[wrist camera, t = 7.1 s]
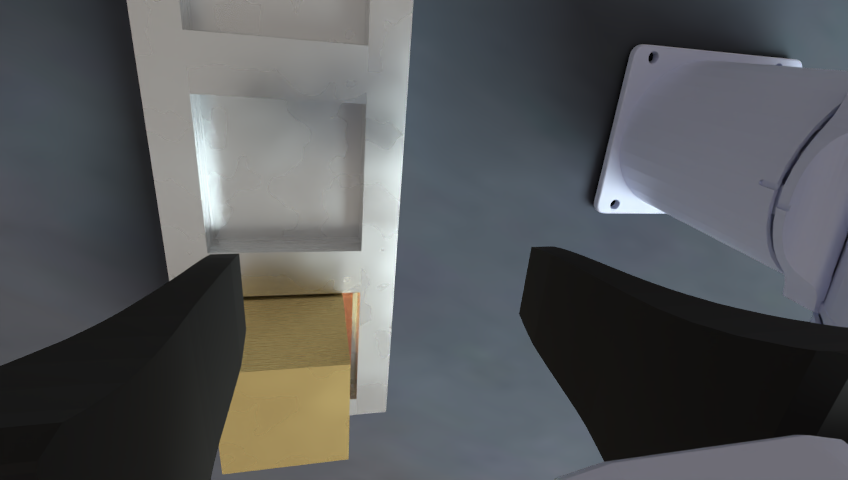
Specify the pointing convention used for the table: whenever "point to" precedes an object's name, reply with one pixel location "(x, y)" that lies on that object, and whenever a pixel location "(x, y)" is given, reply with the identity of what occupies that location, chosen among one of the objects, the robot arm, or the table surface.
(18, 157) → the table surface
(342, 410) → the brass block
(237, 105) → the rail
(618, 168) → the robot arm
